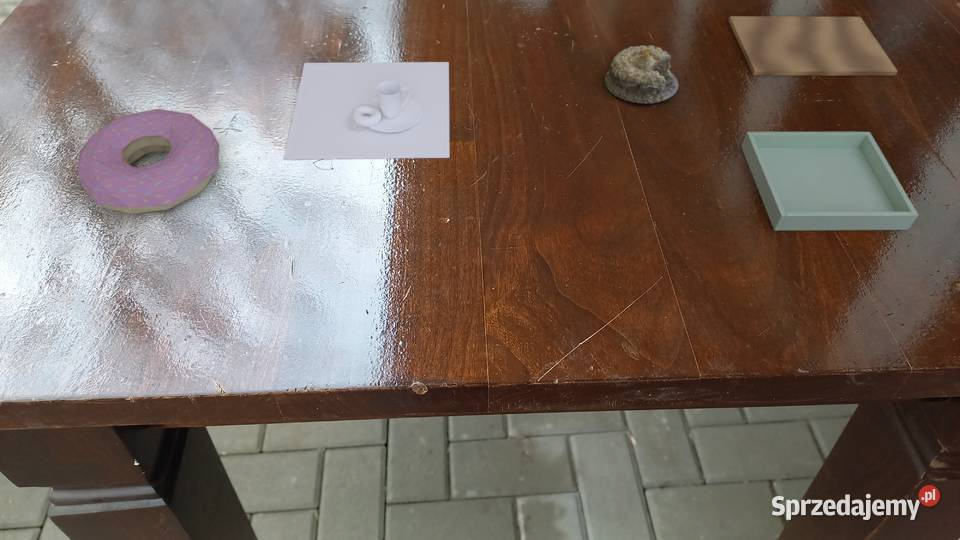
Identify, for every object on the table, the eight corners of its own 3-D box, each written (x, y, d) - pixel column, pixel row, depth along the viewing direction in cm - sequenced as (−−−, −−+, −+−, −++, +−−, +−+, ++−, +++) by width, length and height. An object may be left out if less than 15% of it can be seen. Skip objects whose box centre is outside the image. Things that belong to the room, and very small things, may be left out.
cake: (601, 105, 92) (604, 70, 88) (605, 63, 98) (608, 28, 94) (678, 109, 90) (685, 73, 86) (678, 66, 97) (684, 31, 92)
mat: (858, 21, 105) (860, 16, 104) (895, 75, 96) (898, 71, 96) (728, 20, 105) (729, 16, 104) (753, 75, 96) (754, 70, 95)
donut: (79, 156, 83) (60, 123, 79) (207, 120, 88) (195, 87, 84) (101, 242, 74) (81, 209, 71) (241, 196, 79) (229, 163, 75)
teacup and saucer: (351, 135, 86) (347, 108, 83) (356, 96, 91) (352, 69, 88) (421, 134, 87) (420, 108, 83) (423, 95, 92) (421, 69, 88)
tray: (861, 146, 86) (869, 131, 85) (908, 230, 77) (919, 215, 76) (740, 146, 86) (747, 131, 84) (774, 230, 77) (781, 215, 75)
